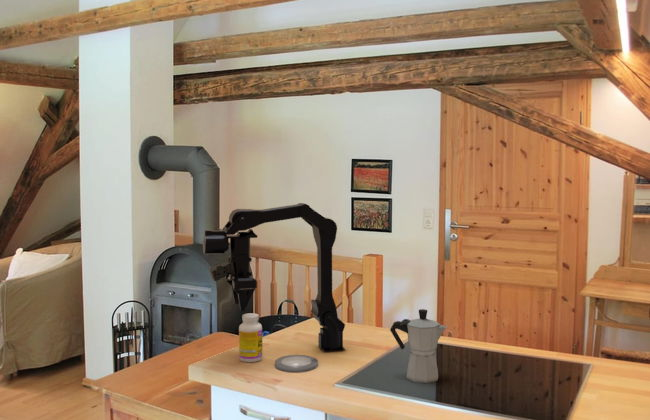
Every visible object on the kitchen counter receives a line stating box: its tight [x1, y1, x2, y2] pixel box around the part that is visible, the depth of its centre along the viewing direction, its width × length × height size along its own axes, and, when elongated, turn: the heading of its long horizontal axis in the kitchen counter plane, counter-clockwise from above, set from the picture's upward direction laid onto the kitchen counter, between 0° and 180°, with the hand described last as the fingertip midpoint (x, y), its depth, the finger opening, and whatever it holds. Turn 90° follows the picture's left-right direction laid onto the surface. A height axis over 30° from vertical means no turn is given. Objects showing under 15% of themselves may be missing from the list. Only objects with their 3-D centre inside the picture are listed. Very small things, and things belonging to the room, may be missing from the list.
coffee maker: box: [389, 308, 448, 384], centre depth 162 cm, size 15×9×18 cm, turn 75°
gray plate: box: [274, 354, 319, 373], centre depth 172 cm, size 12×12×1 cm
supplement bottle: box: [238, 312, 264, 363], centre depth 177 cm, size 7×7×13 cm
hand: (239, 307), depth 177 cm, fingers open, 9 cm apart
